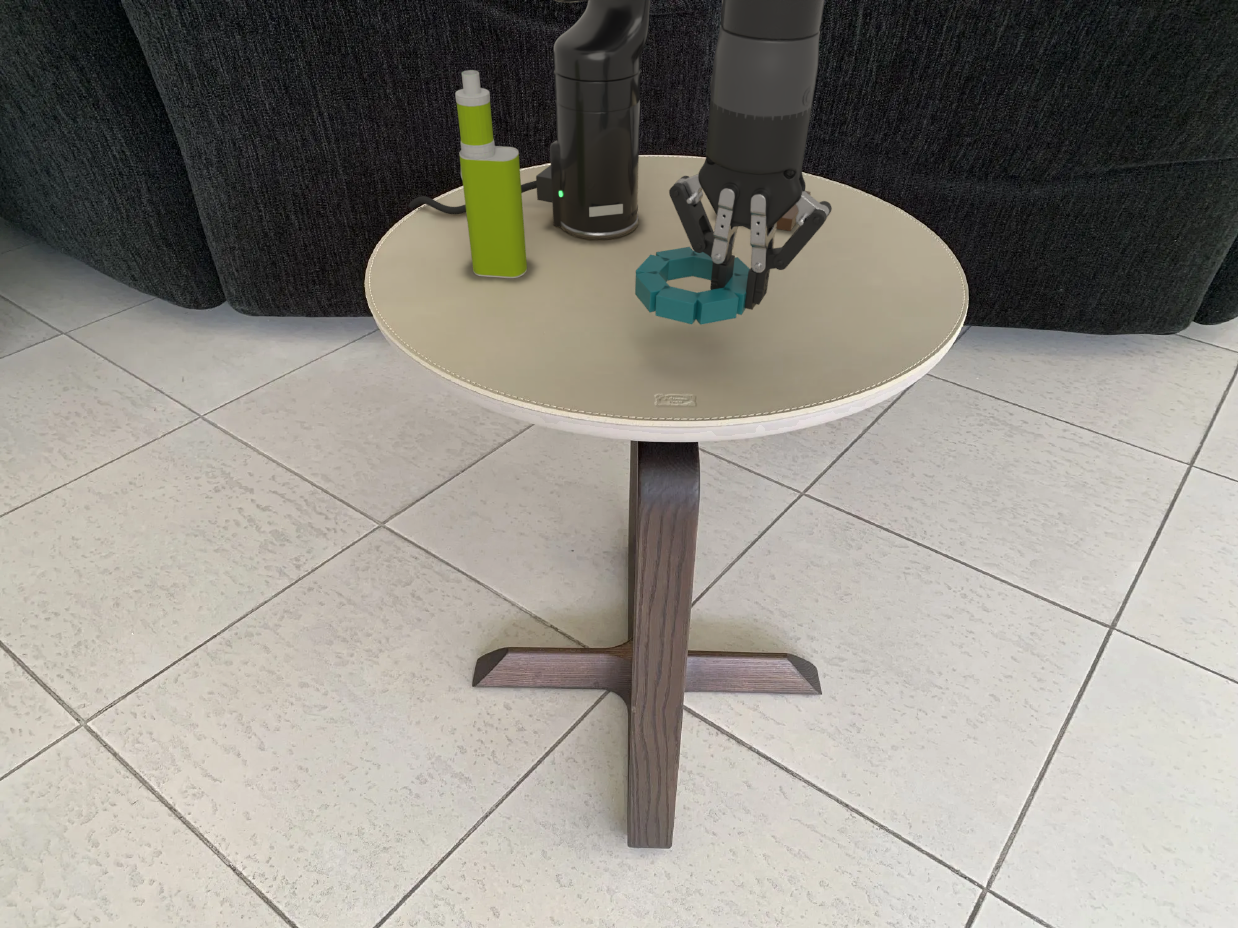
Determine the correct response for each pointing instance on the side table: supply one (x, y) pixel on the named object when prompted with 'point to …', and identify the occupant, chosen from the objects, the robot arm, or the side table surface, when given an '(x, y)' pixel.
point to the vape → (489, 187)
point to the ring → (686, 302)
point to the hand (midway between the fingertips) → (736, 301)
